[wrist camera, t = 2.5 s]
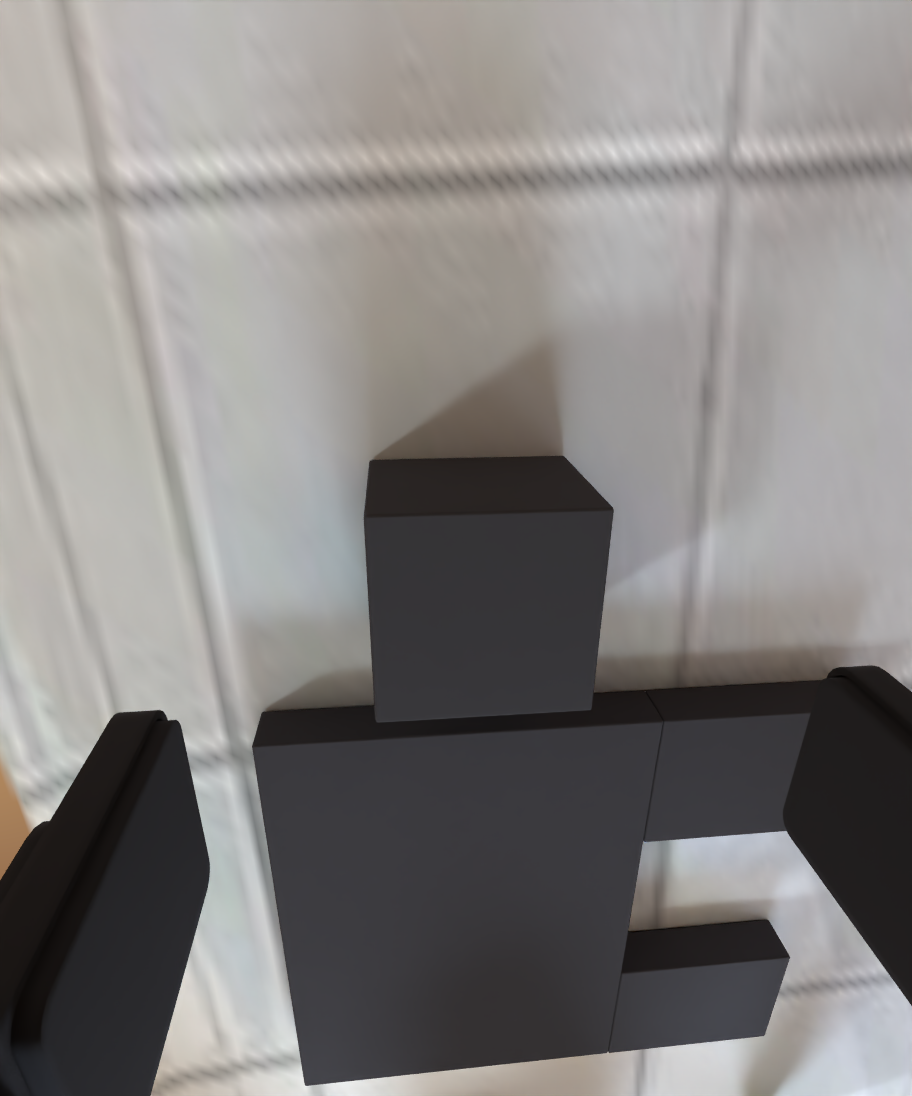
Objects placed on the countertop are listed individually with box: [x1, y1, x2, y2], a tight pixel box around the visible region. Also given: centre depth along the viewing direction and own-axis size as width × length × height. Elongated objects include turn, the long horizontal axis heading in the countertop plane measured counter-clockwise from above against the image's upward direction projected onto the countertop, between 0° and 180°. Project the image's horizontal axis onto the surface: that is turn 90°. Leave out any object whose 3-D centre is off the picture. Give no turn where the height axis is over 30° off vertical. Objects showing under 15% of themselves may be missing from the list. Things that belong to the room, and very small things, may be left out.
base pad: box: [252, 681, 821, 1086], centre depth 22 cm, size 18×16×2 cm
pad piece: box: [364, 456, 614, 722], centre depth 15 cm, size 5×5×4 cm
